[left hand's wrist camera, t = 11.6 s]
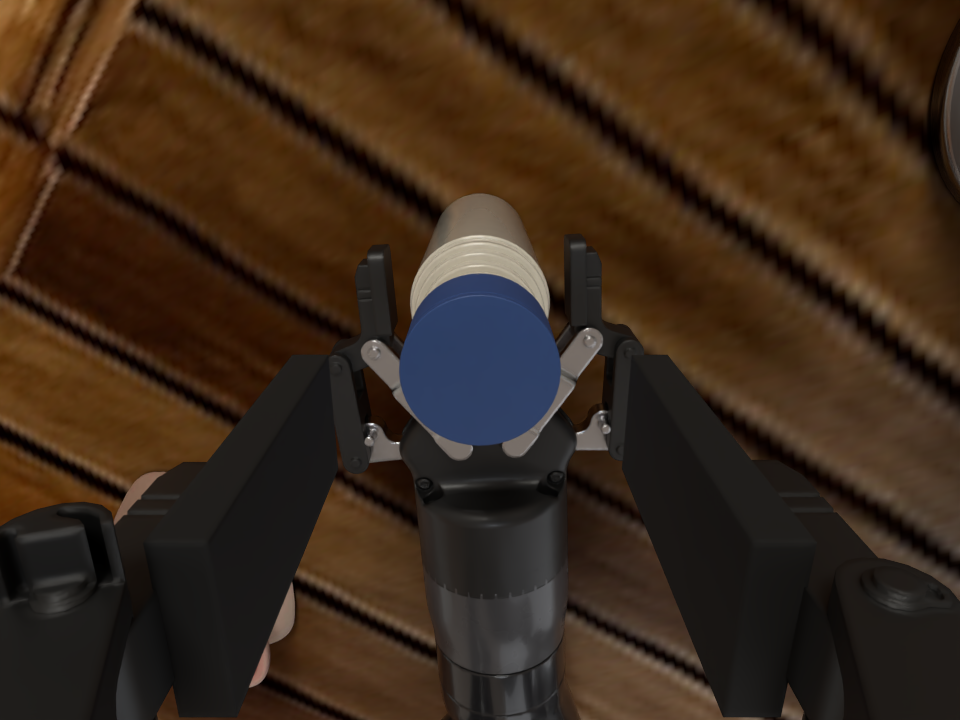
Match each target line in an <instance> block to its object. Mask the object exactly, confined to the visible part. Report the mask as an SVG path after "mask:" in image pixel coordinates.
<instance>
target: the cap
mask: <svg viewBox="0 0 960 720" xmlns="http://www.w3.org/2000/svg"><path fill="white" fill-rule="evenodd" d="M399 377H400V384H401V388H402V392H403V394H404V397H405V400H406V402H407V403H408V405H409V407H410V409H411V410H412V412H413V413H414V414H415V416H416V417H417V418H418V419H419V420H420V421H421V422H422V423H423V424H424V425H425V426H426V427H428V428H429V429H430V430H431V431H433V432H435V433H436V434H438V435H439V436H441V437H444V438H446V439H448V440H451V441H454V442H457V443H461V444H466V445H476V446H483V445H494V444H499V443H503V442H506V441H509V440H512V439H514V438H516V437H519V436H520V435H522V434H524V433H526V432H527V431H528V430H530V429H531V428H532V427H534V426H535V425H536V424H537V423H538V422H539V421H540V420H541V419H542V418H543V417H544V415H545V414H546V413H547V412H548V410H549V409H550V407H551V405H552V404H553V402H554V399H555V397H556V395H557V392H558V388H559V384H560V377H561V363H560V356H559V352H558V349H557V345H556V342H555V339H554V336H553V334H552V331H551V328H550V325H549V322H548V319H547V317H546V314H545V312H544V310H543V308H542V307H541V305H540V304H539V302H538V301H537V300H536V299H535V297H534V296H533V295H532V294H531V293H530V292H528V291H527V290H526V289H525V288H524V287H522V286H521V285H519V284H518V283H516V282H514V281H512V280H510V279H507V278H504V277H501V276H497V275H493V274H483V273H478V274H468V275H462V276H459V277H456V278H453V279H450V280H448V281H446V282H444V283H443V284H441V285H439V286H438V287H436V288H435V289H434V290H433V291H431V292H430V293H429V294H428V295H427V296H426V297H425V299H424V300H423V301H422V302H421V304H420V305H419V307H418V308H417V310H416V312H415V314H414V316H413V319H412V322H411V325H410V328H409V331H408V334H407V337H406V340H405V343H404V346H403V349H402V352H401V356H400V362H399Z"/></svg>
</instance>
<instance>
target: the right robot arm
mask: <svg viewBox="0 0 960 720" xmlns="http://www.w3.org/2000/svg"><path fill="white" fill-rule="evenodd" d="M601 267H602V264H601V261H600V259H599V256H598V254H597V252H596V251H595V250H594V249H593V247H592V246H590V247H586V241H585V238H584V237H583V236H582V235H581V234H567V235H564V277H565V313H566V316H567V318H568V320H569V322H568V323H567V325H566V326H565V327H564V329H563V330H562V332H561V333H560V334H559V336H558V337H557V338H556V340H555V342H556V345H557V349H558V352H559V356H560V363H561V377H560V384H559V388H558V392H557V395H556V397H555V399H554V402H553V404H552V405H551V407H550V409H549V410H548V412H547V413H546V414H545V415H544V417H543V418H542V419H541V420H540V421H539V422H538V423H537V424H536V425H535V426H534V427H532V428H531V429H530V430H528V431H527V432H526V433H524V434H522V435H520V436H519V437H516V438H514V439H512V440H509V441H506V442H503V443H499V444H494V445H483V446H476V445H466V444H461V443H457V442H454V441H451V440H448V439H446V438H444V437H441V436H439V435H438V434H436V433H435V432H433V431H431V430H430V429H429V428H428V427H426V426H425V425H424V424H423V423H422V422H421V421H420V420H419V419H418V418H417V417H416V416H415V414H414V413H413V412H412V410H411V409H410V407H409V405H408V403H407V402H406V400H405V397H404V394H403V392H402V388H401V384H400V377H399V362H400V356H401V352H402V349H403V346H404V343H405V342H404V341H403V340H402V339H401V338H400V337H399V336H398V335H397V334H396V333H395V332H394V329H395V327H396V324H397V322H398V318H397V309H396V300H395V290H394V281H393V272H392V262H391V253H390V247H389V244H384V245H373V246H372V247H371V248H370V249H369V250H368V254H367V259H363V260H362V261H361V262H360V264H359V265H358V267H357V271H356V275H355V283H356V289H357V298H358V307H359V314H360V322H361V334H359V335H357V336H355V337H353V338H350V339H342V340H339V341H338V342H337V343H336V344H335V346H334V347H333V349H332V352H331V353H330V355H329V368H330V380H331V391H332V403H333V415H334V424H335V428H336V433H337V437H338V442H339V447H340V451H341V456H342V460H343V465H344V467H345V468H346V470H348V471H349V472H351V473H354V474H359V473H362V472H364V471H365V470H366V469H367V468H368V465H369V463H371V462H380V461H390V460H399V459H402V460H403V461H404V463H405V464H406V465H407V466H408V468H409V469H410V471H411V473H412V476H413V480H414V488H415V498H416V507H417V516H418V526H419V535H420V544H421V554H422V563H423V572H424V581H425V590H426V598H427V605H428V609H429V613H430V616H431V620H432V623H433V627H434V632H435V640H436V650H437V659H438V669H439V678H440V686H441V693H442V697H443V701H444V704H445V706H446V709H447V712H448V713H447V714H446V715H445V716H444V717H443V718H442V719H441V720H581V719H580V716H579V714H578V711H577V708H576V705H575V702H574V699H573V696H572V693H571V691H570V689H569V686H568V684H567V681H566V679H565V640H564V621H565V614H566V608H567V601H568V534H567V466H568V463H569V460H570V458H571V457H572V455H573V453H574V452H575V450H609V453H610V455H611V457H612V458H614V459H616V460H619V461H623V451H624V439H625V427H626V415H627V403H628V391H629V380H630V368H631V356H632V355H644V349H643V347H642V345H641V344H640V342H639V341H638V339H637V338H636V337H635V335H634V334H633V332H632V331H631V330H630V328H629V327H628V326H626V325H623V324H617V325H615V324H612V323H608V322H605V321H603V320H602V318H601ZM596 354H599V355H603V356H605V367H604V381H603V395H602V403H599V404H595V405H593V406H592V407H591V408H590V409H589V411H588V415H587V418H586V419H585V420H584V421H583V422H582V423H580V424H577V425H573V423H572V421H571V420H570V418H569V417H568V416H567V415H566V413H565V412H564V411H563V410H562V409H561V408H560V406H561V405H562V403H563V402H564V401H565V399H566V398H567V397H568V396H569V394H570V393H571V392H572V390H573V389H574V387H575V385H576V382H577V379H578V377H579V375H580V374H581V373H582V371H583V370H584V369H585V368H586V366H587V365H588V364H589V362H590V361H591V360H592V359H593V357H594V356H595V355H596ZM368 366H370V367H371V368H372V369H373V370H374V371H375V372H376V373H377V374H378V376H379V377H380V378H381V379H382V380H383V381H384V382H385V383H386V384H387V385H388V386H389V387H390V389H391V391H392V393H393V395H394V397H395V398H396V400H397V401H398V402H399V403H400V404H401V405H402V406H403V407H404V408H405V409H406V410H407V411H408V412H409V413H410V414H411V415H412V417H411V418H410V420H409V421H408V423H407V424H406V426H405V428H404V429H403V432H402V434H395V433H393V432H391V431H390V430H389V429H388V427H387V425H386V423H385V421H384V420H383V419H382V418H381V417H379V416H372V414H371V409H370V404H369V399H368V394H367V389H366V384H365V378H364V373H363V368H366V367H368Z"/></svg>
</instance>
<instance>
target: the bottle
mask: <svg viewBox="0 0 960 720" xmlns="http://www.w3.org/2000/svg"><path fill="white" fill-rule="evenodd" d="M478 273H483V274H493V275H497V276H501V277H504V278H507V279H510V280H512V281H514V282H516V283H518V284H519V285H521V286H522V287H524V288H525V289H526V290H527V291H528V292H530V293H531V294H532V295H533V296H534V297H535V299H536V300H537V301H538V302H539V304H540V305H541V307H542V308H543V310H544V312H545V314H546V317H547V319H548V316H549V308H550V296H549V289H548V286H547V282H546V279H545V277H544V274H543V272H542V269H541V267H540V264H539V262H538V260H537V257H536V255H535V252H534V250H533V247H532V245H531V243H530V240H529V238H528V235H527V233H526V230H525V228H524V226H523V223H522V221H521V219H520V217H519V215H518V214H517V212H516V211H515V210H514V208H513V207H512V206H510V205H509V204H508V203H507V202H505V201H504V200H502V199H500V198H498V197H496V196H493V195H488V194H472V195H467V196H464V197H462V198H460V199H458V200H456V201H455V202H453V203H452V204H451V205H450V206H448V207H447V209H446V210H445V211H444V212H443V214H442V215H441V217H440V219H439V221H438V223H437V225H436V228H435V230H434V233H433V235H432V238H431V240H430V242H429V245H428V247H427V250H426V252H425V255H424V257H423V259H422V262H421V264H420V267H419V269H418V272H417V274H416V276H415V279H414V282H413V285H412V290H411V296H410V308H411V316H412V319H413V316H414V314H415V312H416V310H417V308H418V307H419V305H420V304H421V302H422V301H423V300H424V299H425V297H426V296H427V295H428V294H429V293H430V292H431V291H433V290H434V289H435V288H436V287H438V286H439V285H441V284H443V283H444V282H446V281H448V280H450V279H453V278H456V277H459V276H462V275H468V274H478Z"/></svg>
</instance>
